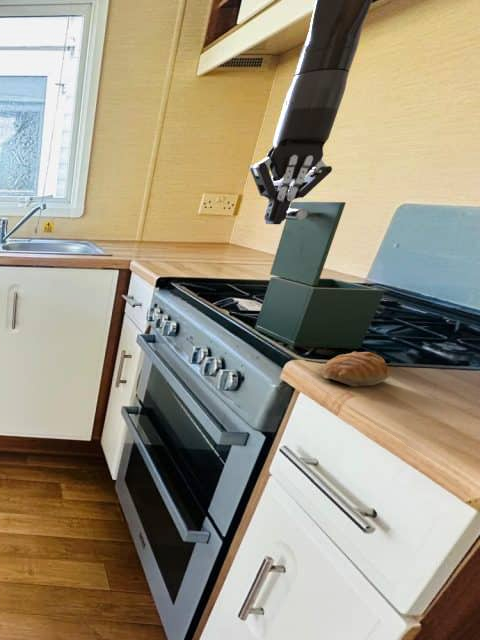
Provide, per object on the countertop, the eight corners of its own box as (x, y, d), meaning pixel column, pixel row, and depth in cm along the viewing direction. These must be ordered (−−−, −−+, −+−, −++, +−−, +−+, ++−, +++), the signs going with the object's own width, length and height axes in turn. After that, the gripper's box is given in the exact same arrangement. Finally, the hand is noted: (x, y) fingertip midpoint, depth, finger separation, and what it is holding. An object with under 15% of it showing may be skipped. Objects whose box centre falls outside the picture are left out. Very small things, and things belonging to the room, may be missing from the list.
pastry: (361, 393, 59) (372, 368, 58) (307, 376, 64) (316, 353, 63) (388, 381, 63) (399, 358, 62) (335, 367, 69) (344, 345, 67)
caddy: (313, 330, 89) (333, 278, 84) (360, 348, 78) (385, 290, 74) (254, 328, 89) (270, 276, 84) (292, 346, 78) (314, 288, 74)
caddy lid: (295, 201, 79) (268, 201, 79) (346, 202, 68) (315, 202, 68) (273, 274, 84) (248, 274, 84) (317, 285, 73) (288, 285, 73)
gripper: (284, 102, 64) (248, 223, 71) (370, 106, 64) (325, 227, 71) (254, 111, 71) (224, 221, 78) (331, 115, 71) (294, 224, 78)
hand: (272, 223), depth 75 cm, fingers closed
